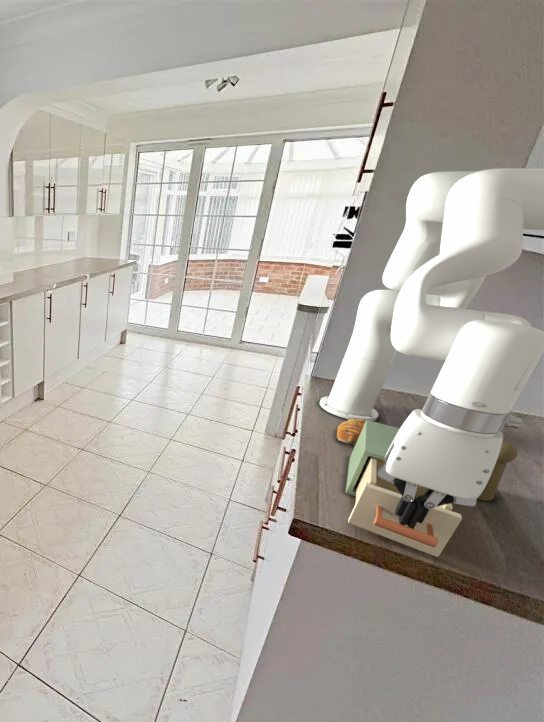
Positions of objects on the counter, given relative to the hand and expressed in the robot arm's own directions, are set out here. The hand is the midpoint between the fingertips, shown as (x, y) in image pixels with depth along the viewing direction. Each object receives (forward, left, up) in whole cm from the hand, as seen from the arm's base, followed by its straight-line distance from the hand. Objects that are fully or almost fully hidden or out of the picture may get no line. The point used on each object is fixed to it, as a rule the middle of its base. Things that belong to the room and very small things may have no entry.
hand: (405, 521), depth 62 cm
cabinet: (-20, 0, -6) cm, 21 cm away
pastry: (-38, -6, -6) cm, 39 cm away
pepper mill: (-30, +13, -6) cm, 33 cm away
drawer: (-6, 0, -5) cm, 8 cm away
